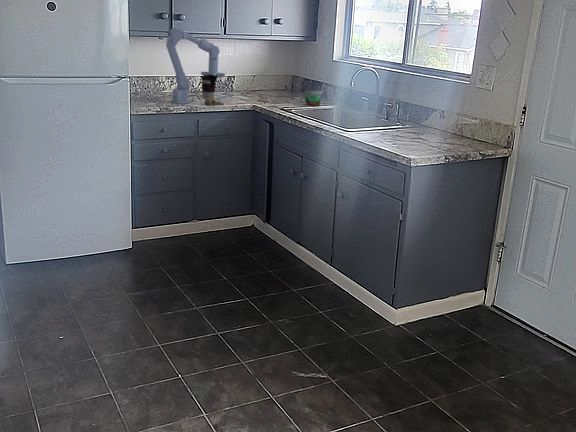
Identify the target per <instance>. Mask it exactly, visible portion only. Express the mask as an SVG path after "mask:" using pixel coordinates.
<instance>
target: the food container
mask: <svg viewBox="0 0 576 432" xmlns="http://www.w3.org/2000/svg"><path fill="white" fill-rule="evenodd" d="M304 93H305V97H304V98H305V106H307V105H308V106H309V107H320V104H321V100H322V95H323V90H310V89H309V90H308V89H305V90H304ZM304 93H303V94H304Z"/></svg>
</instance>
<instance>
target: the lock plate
mask: <svg viewBox="0 0 576 432" xmlns="http://www.w3.org/2000/svg"><path fill="white" fill-rule="evenodd" d="M203 104H204V106H208V107H209V106H210V107H211V106H213V107H214V106H215V107H216V106H224V105H225V103H224V102H221V101H216V102H209V100H207V98H204V103H203Z"/></svg>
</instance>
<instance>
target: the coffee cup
mask: <svg viewBox="0 0 576 432" xmlns="http://www.w3.org/2000/svg"><path fill="white" fill-rule="evenodd" d="M210 75H212V74H210ZM208 76H209V75H201V78H200V79H201V92H202V98H203V99H207V98H215V91H216V84H217V83H216V82H215V85H214V88H211V83H210V80H209V78H208ZM217 80H218V78H217V79H216V81H217Z"/></svg>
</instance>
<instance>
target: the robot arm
mask: <svg viewBox="0 0 576 432" xmlns="http://www.w3.org/2000/svg"><path fill="white" fill-rule="evenodd" d="M181 40H188V41H190V42H192V43H194V44H196V45H197V48H198V49H200V50H202V51H204V52H206V53H208V71H201V72H200V75H201V76H203V75H209V76H208V78H209V80H210V83H211V88H214V85H215V83H216V82H217V80H218V78H219V77H221V78H222V77H223V78H225V76H226V73H223V72H219V54H220V52H221V51H220V48H219V47H218V46H217V45H214V43H211V42H209V41H207V39H206V38H201V39H199V38H197V37H196V36H194V35H193V34H190V33H188V32H186V31H184V30H180V29H179V28H178V29H177V28H175V27H174V28H171V29H170V30H169V31H168V33H167V39H166V43H165V46H166V50H167V52H168V55H169V58H170V60H171V63H172V67H173V69H174V72H175V78H176V80H175V81H176V88H174V89H173V88H172V97H171V98H172V99H171V102H172V103H175V104H178V105H179V104H181V105H182V104H191V103H192V102H191V101H189V98H190V97H189V95H190V94H189V92H190V91H189V90H190V88H189V87H190V82H191V81H190V80H189V79H188V78H187V76H186V73H185V72H184V68H183V66H182V65H183V64H182V63H181V59H180V57H179V55H178V51H177V49H176V46H177V45H178V42H180V41H181ZM210 74H212V75H210ZM216 79H217V80H216ZM215 86H216V85H215Z"/></svg>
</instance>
